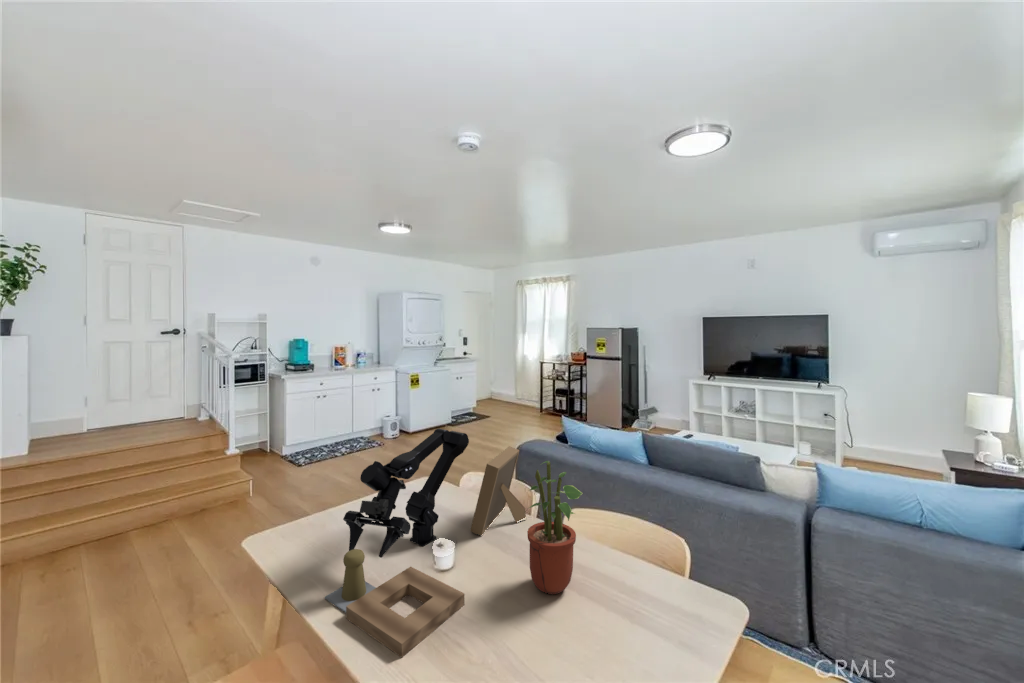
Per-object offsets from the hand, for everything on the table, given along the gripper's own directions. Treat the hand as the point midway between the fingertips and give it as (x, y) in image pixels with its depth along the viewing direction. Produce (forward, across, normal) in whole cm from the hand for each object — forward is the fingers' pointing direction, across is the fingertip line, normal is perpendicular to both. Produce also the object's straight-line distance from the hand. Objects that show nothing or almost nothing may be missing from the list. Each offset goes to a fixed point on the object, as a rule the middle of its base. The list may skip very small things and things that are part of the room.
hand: (364, 554), depth 109 cm
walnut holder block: (+10, +16, +1) cm, 19 cm away
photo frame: (-24, +27, +37) cm, 51 cm away
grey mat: (+9, 0, +2) cm, 10 cm away
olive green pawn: (+9, 0, +2) cm, 9 cm away
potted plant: (-4, +48, +16) cm, 51 cm away
